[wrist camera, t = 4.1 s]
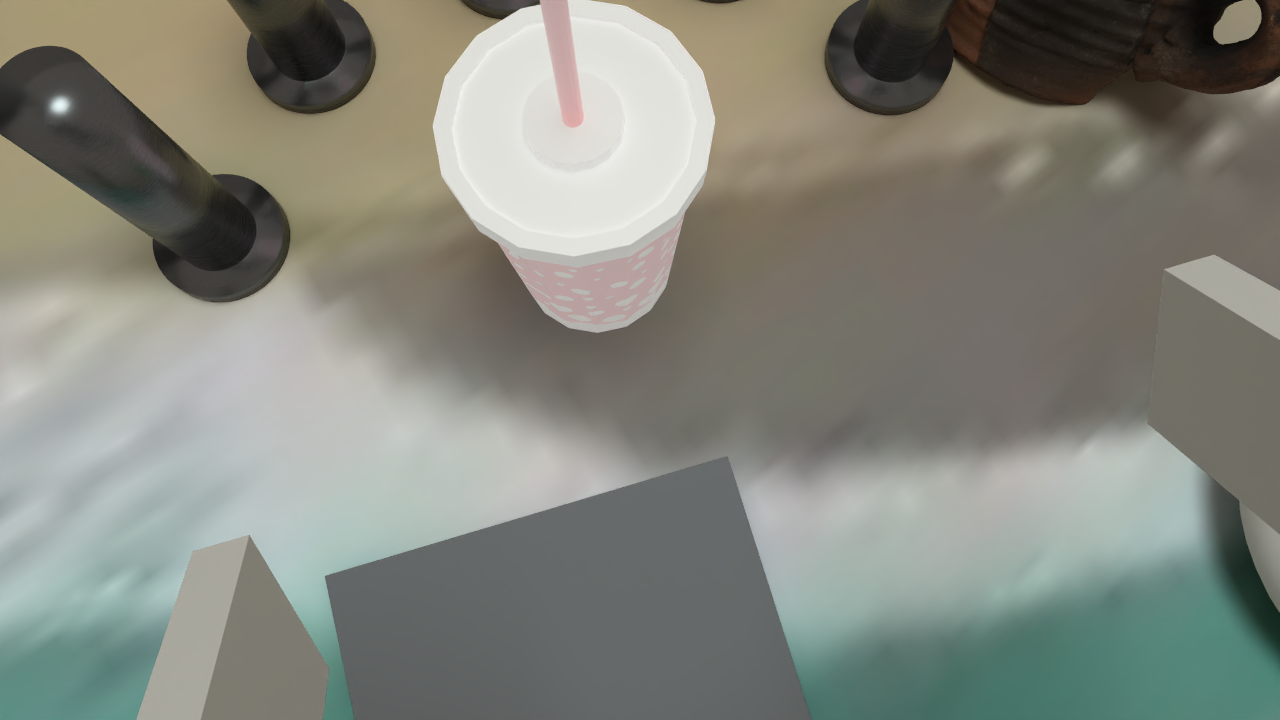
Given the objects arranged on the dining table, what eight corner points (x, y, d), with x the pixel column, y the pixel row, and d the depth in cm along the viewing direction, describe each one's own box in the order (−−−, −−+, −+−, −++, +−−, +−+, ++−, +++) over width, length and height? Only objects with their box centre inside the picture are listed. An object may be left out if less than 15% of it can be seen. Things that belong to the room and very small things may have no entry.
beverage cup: (500, 172, 29) (371, -180, 16) (692, 168, 29) (729, -188, 16) (496, 359, 28) (351, 149, 14) (698, 354, 28) (745, 141, 14)
